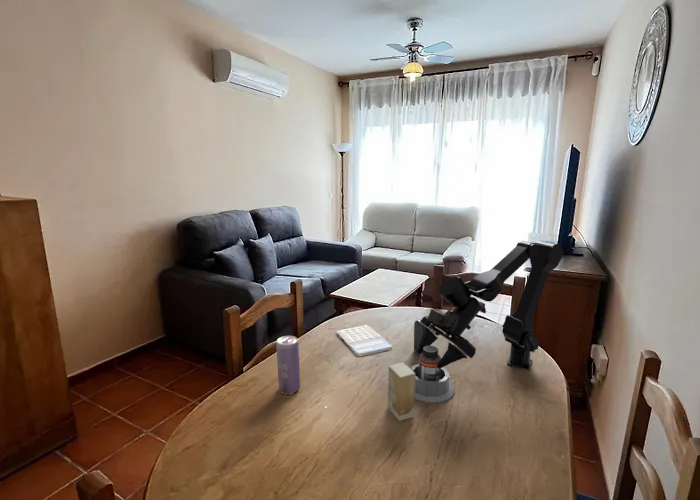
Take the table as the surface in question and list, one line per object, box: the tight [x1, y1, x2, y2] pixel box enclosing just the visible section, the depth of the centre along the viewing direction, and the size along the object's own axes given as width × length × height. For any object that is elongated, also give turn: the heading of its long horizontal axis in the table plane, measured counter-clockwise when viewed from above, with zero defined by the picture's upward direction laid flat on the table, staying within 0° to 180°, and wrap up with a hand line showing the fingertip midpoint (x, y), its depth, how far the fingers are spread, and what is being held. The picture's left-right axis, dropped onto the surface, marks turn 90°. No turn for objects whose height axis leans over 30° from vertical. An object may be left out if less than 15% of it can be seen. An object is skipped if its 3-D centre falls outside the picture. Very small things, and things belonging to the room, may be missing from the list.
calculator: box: [336, 324, 393, 357], centre depth 138 cm, size 13×20×2 cm, turn 24°
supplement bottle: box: [418, 345, 442, 381], centre depth 107 cm, size 6×6×11 cm
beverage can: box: [275, 335, 301, 395], centre depth 107 cm, size 6×6×15 cm
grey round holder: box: [410, 363, 456, 404], centre depth 108 cm, size 14×14×5 cm
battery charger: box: [413, 319, 423, 356], centre depth 127 cm, size 7×4×11 cm, turn 21°
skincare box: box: [387, 361, 415, 422], centre depth 97 cm, size 6×4×12 cm
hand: (427, 359), depth 106 cm, fingers open, 9 cm apart
